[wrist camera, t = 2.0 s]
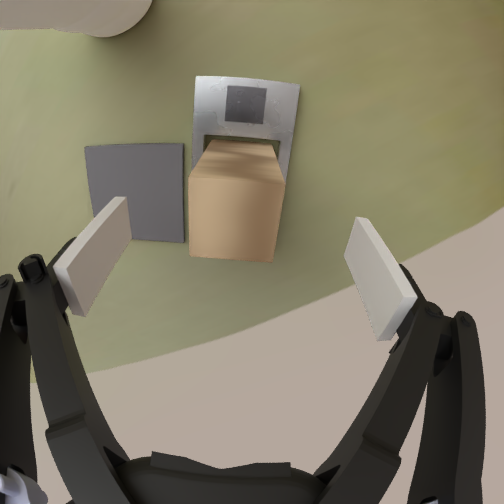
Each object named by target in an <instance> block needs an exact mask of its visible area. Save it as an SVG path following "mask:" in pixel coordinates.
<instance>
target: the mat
mask: <svg viewBox="0 0 504 504" xmlns="http://www.w3.org/2000/svg"><path fill="white" fill-rule="evenodd" d="M84 149H85V159H86V168H87V176H88V184H89V190H90V197H91V203H92V209H93V214H94V218H95V217H96V216H97V215H98V214H99V213H100V212H101V210H102V209H103V208H104V207H105V206H106V205H107V204H108V203H109V202H110V201H111V200H112V199H113V198H114V197H127V204H128V213H129V220H130V228H131V234H132V239H139V240H153V241H166V242H179V243H184V241H185V237H184V202H183V152H184V143H141V144H115V145H99V146H87V147H85V148H84Z"/></svg>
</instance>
